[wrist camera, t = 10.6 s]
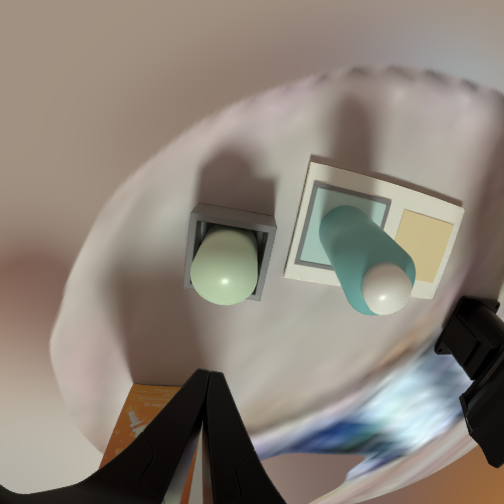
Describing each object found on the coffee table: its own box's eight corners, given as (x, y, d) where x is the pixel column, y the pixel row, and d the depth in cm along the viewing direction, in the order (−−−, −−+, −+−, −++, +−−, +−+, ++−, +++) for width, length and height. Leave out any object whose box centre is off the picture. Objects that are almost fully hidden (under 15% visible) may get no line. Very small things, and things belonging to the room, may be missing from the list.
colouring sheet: (462, 207, 19) (465, 209, 18) (429, 297, 22) (432, 300, 21) (310, 161, 18) (311, 162, 17) (283, 274, 21) (284, 278, 20)
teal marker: (375, 210, 18) (435, 261, 11) (362, 259, 20) (407, 329, 12) (325, 200, 18) (365, 249, 11) (313, 252, 20) (340, 324, 12)
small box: (209, 384, 25) (189, 512, 13) (220, 422, 28) (209, 530, 15) (130, 381, 26) (88, 490, 14) (150, 418, 28) (122, 516, 16)
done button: (261, 225, 19) (263, 251, 15) (251, 275, 21) (250, 309, 16) (207, 216, 19) (193, 239, 15) (200, 266, 20) (187, 298, 16)
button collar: (274, 216, 19) (276, 227, 17) (259, 283, 21) (260, 301, 19) (198, 203, 19) (191, 212, 17) (190, 271, 21) (183, 288, 19)
